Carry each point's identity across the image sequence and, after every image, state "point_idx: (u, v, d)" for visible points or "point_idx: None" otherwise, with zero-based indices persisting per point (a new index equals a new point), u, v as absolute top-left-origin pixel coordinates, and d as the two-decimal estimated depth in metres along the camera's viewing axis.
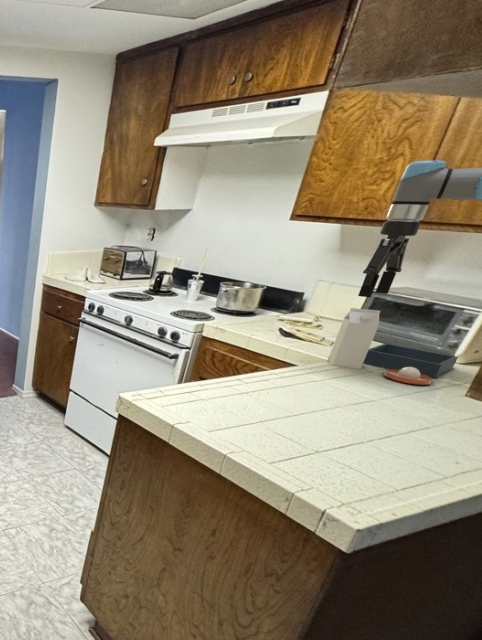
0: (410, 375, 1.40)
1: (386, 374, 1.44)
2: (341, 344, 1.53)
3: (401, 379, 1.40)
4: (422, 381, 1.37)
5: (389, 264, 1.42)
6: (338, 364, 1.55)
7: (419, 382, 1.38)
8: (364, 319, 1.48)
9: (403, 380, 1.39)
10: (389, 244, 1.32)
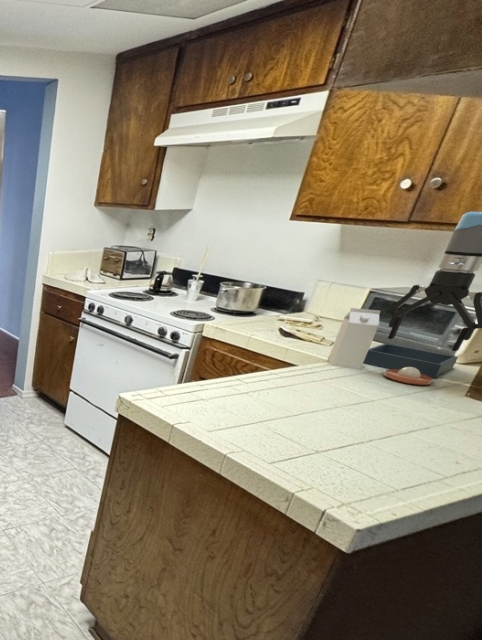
0: (410, 375, 1.40)
1: (386, 374, 1.44)
2: (341, 344, 1.53)
3: (401, 379, 1.40)
4: (422, 381, 1.37)
5: (407, 311, 1.39)
6: (338, 364, 1.55)
7: (419, 382, 1.38)
8: (364, 319, 1.48)
9: (403, 380, 1.39)
10: None
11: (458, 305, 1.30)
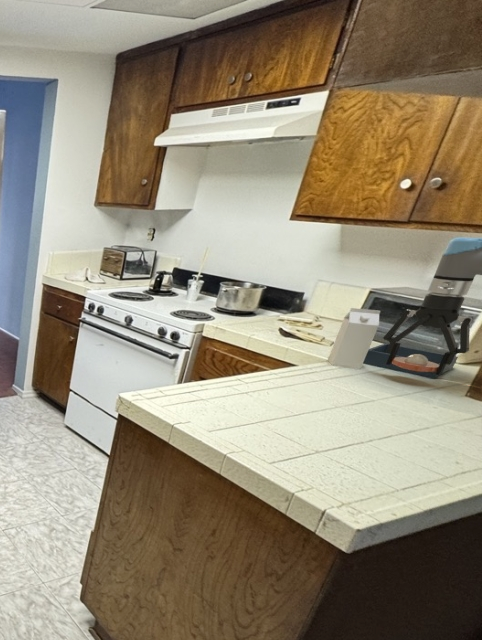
0: (417, 362, 1.38)
1: (393, 362, 1.42)
2: (341, 344, 1.53)
3: (408, 366, 1.38)
4: (430, 368, 1.35)
5: (404, 336, 1.41)
6: (338, 364, 1.55)
7: (427, 369, 1.36)
8: (364, 319, 1.48)
9: (410, 367, 1.38)
10: (470, 323, 1.30)
11: (446, 329, 1.33)
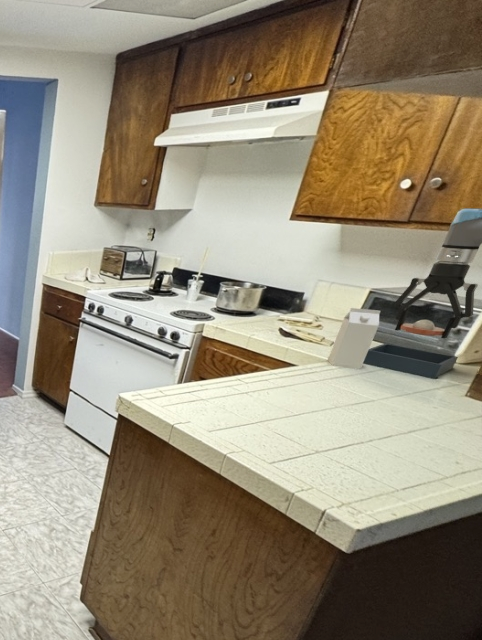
0: (425, 327, 1.48)
1: (402, 327, 1.52)
2: (341, 344, 1.53)
3: (416, 331, 1.48)
4: (436, 332, 1.46)
5: (412, 303, 1.51)
6: (338, 364, 1.55)
7: (433, 333, 1.46)
8: (364, 319, 1.48)
9: (418, 331, 1.48)
10: None
11: (452, 295, 1.43)
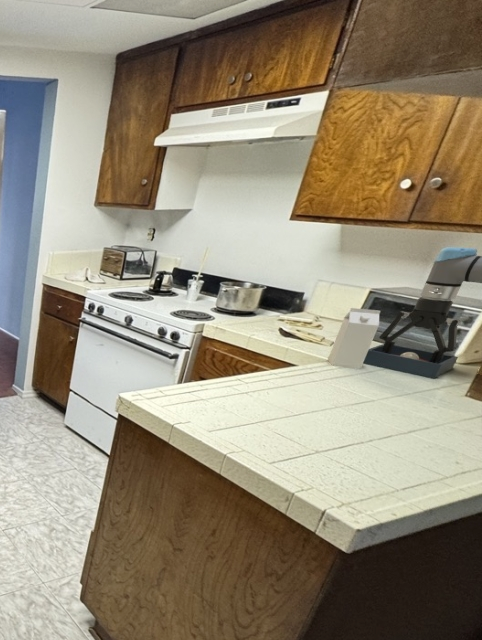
0: None
1: None
2: (341, 344, 1.53)
3: None
4: None
5: (398, 336, 1.55)
6: (338, 364, 1.55)
7: None
8: (364, 319, 1.48)
9: None
10: None
11: (435, 330, 1.47)
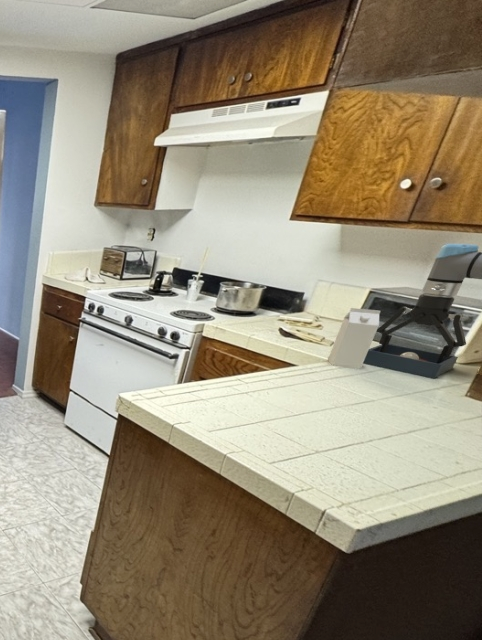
0: None
1: None
2: (341, 344, 1.53)
3: None
4: None
5: None
6: (338, 364, 1.55)
7: None
8: (364, 319, 1.48)
9: None
10: (461, 319, 1.44)
11: (440, 326, 1.46)
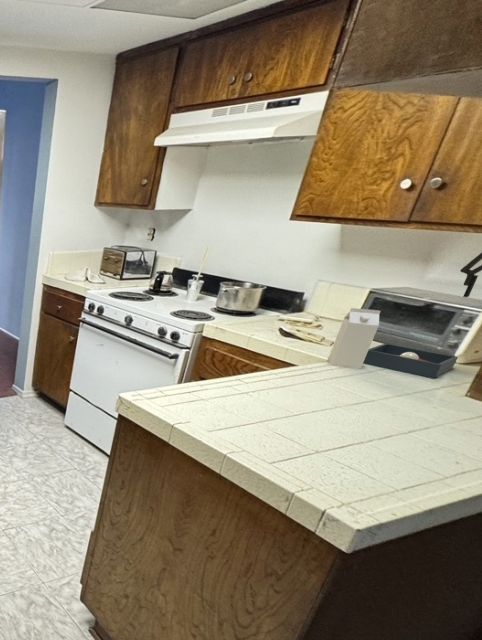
0: None
1: None
2: (341, 344, 1.53)
3: None
4: None
5: None
6: (338, 364, 1.55)
7: None
8: (364, 319, 1.48)
9: None
10: None
11: None
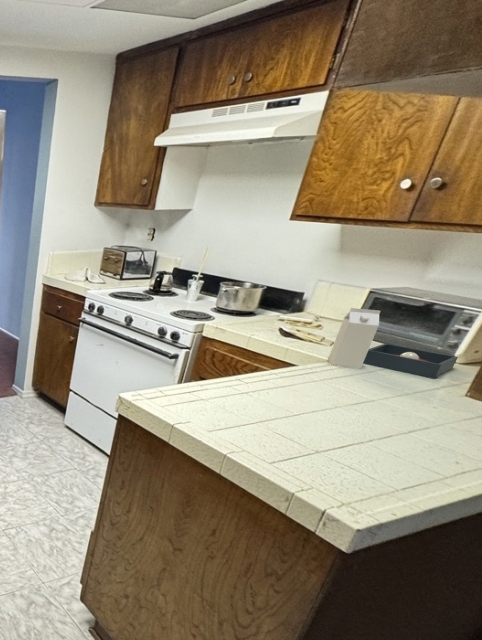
0: None
1: None
2: (341, 344, 1.53)
3: None
4: None
5: None
6: (338, 364, 1.55)
7: None
8: (364, 319, 1.48)
9: None
10: None
11: None
